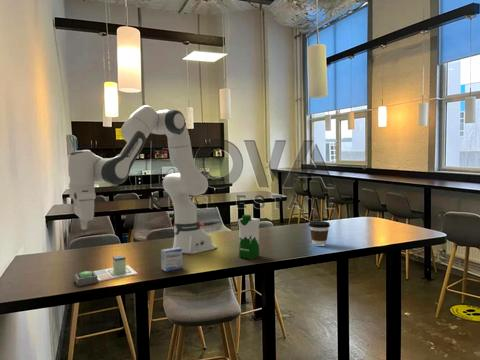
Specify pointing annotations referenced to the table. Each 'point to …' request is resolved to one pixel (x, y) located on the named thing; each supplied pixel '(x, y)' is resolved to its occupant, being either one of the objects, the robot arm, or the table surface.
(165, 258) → the medicine box
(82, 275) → the button
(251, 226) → the milk carton
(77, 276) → the button housing
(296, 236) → the table surface
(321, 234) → the coffee cup
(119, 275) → the picture board
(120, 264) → the marker block
